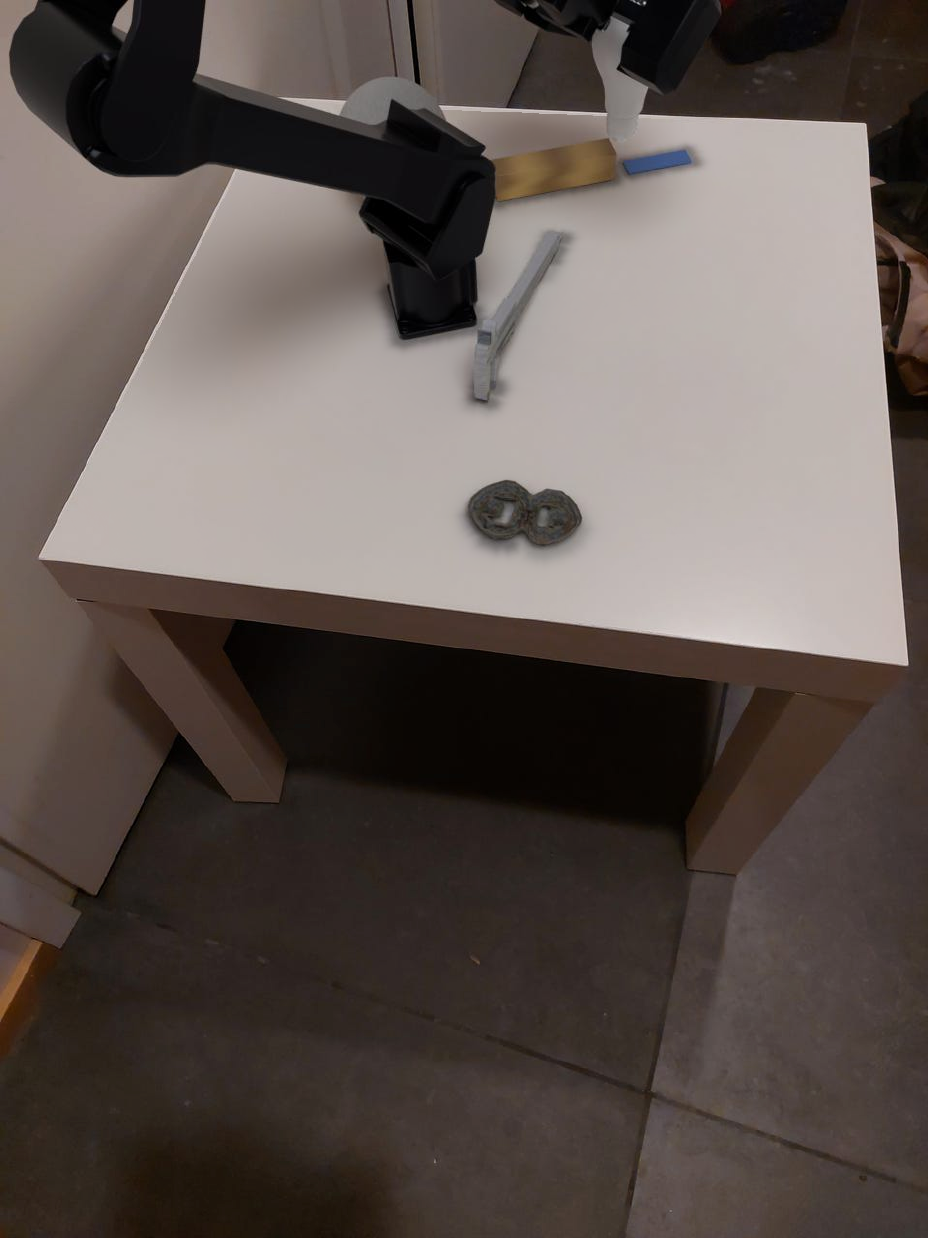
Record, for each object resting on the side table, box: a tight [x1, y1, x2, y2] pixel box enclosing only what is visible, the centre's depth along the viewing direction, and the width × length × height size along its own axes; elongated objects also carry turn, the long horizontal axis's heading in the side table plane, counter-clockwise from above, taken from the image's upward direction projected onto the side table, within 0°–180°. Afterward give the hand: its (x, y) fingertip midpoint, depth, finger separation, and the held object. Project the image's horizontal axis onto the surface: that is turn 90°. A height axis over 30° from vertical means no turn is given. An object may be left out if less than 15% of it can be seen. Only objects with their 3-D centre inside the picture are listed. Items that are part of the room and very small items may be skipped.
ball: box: [338, 76, 447, 200], centre depth 74 cm, size 10×10×10 cm
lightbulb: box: [591, 0, 649, 143], centre depth 68 cm, size 6×6×11 cm
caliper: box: [472, 230, 564, 401], centre depth 67 cm, size 20×1×6 cm, turn 160°
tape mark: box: [622, 148, 692, 175], centre depth 78 cm, size 6×2×1 cm, turn 102°
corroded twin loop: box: [467, 479, 583, 546], centre depth 59 cm, size 5×8×1 cm, turn 76°
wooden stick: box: [490, 137, 618, 202], centre depth 77 cm, size 11×2×2 cm, turn 102°
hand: (641, 52), depth 67 cm, fingers closed on lightbulb, 6 cm apart
